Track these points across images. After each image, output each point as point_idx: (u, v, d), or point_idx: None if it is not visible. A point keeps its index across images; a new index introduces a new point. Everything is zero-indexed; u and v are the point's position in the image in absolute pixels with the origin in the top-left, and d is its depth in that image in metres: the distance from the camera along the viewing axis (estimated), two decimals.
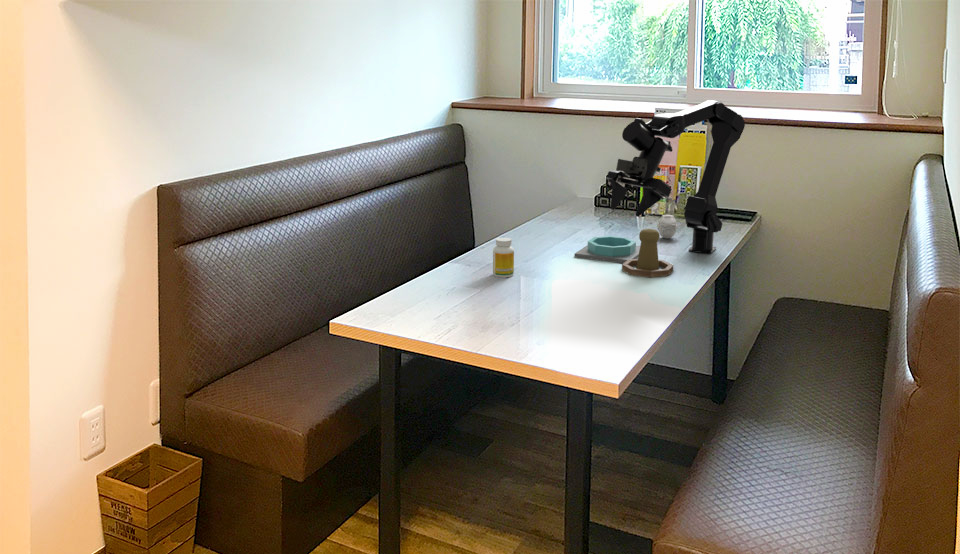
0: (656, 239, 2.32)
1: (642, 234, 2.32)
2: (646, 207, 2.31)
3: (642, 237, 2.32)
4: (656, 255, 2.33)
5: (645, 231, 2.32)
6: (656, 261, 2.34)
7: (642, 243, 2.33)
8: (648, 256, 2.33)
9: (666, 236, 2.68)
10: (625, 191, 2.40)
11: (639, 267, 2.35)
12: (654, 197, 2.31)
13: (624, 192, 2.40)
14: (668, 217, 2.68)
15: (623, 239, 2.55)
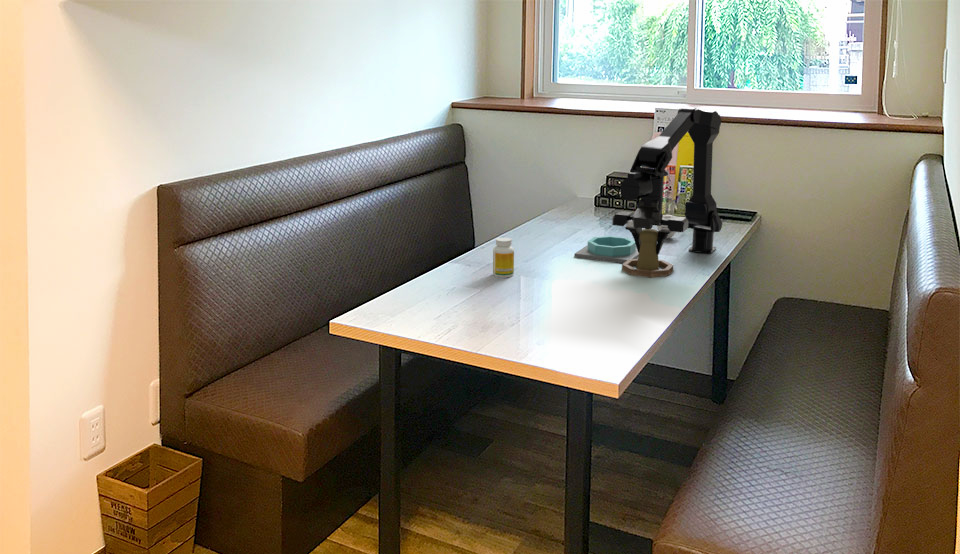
0: (656, 239, 2.32)
1: (642, 234, 2.32)
2: (662, 242, 2.33)
3: (642, 237, 2.32)
4: (656, 255, 2.33)
5: (645, 231, 2.32)
6: (656, 261, 2.34)
7: (642, 243, 2.33)
8: (648, 256, 2.33)
9: None
10: (641, 227, 2.36)
11: (639, 267, 2.35)
12: None
13: (641, 229, 2.36)
14: (668, 217, 2.68)
15: (623, 239, 2.55)
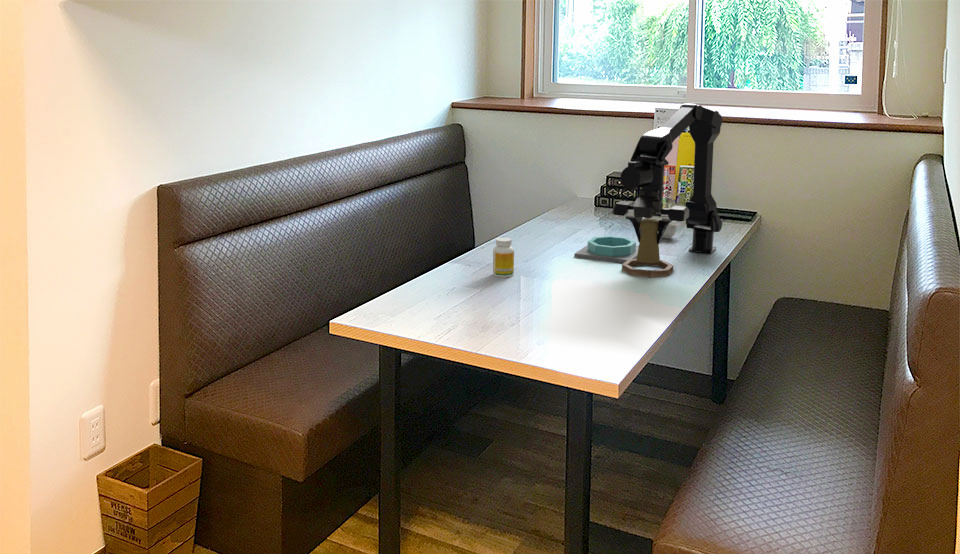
0: (657, 228, 2.31)
1: (643, 223, 2.31)
2: (663, 232, 2.33)
3: (643, 227, 2.31)
4: (657, 245, 2.33)
5: (646, 220, 2.31)
6: (657, 251, 2.33)
7: (643, 233, 2.33)
8: (648, 245, 2.32)
9: (666, 236, 2.68)
10: (641, 217, 2.35)
11: (640, 257, 2.34)
12: None
13: (641, 218, 2.35)
14: None
15: (623, 239, 2.55)
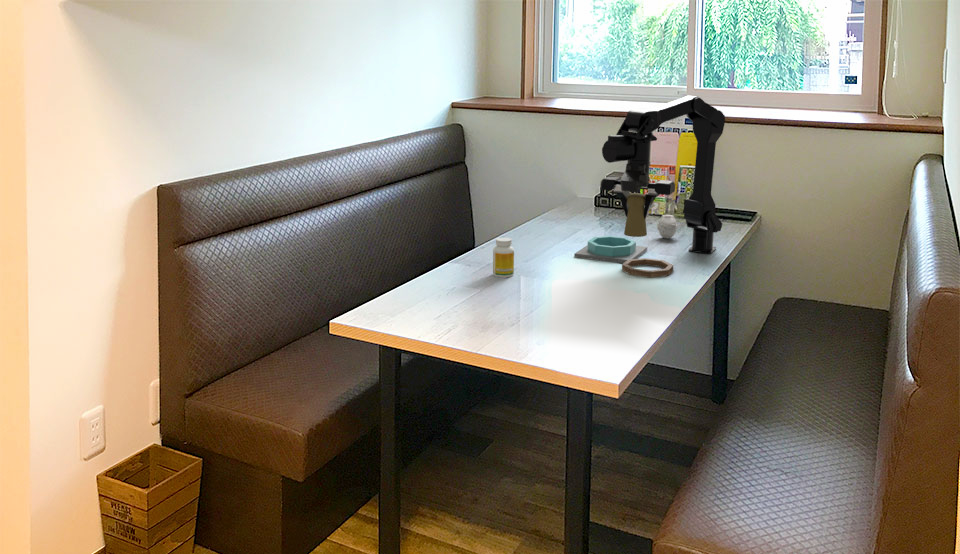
0: (644, 203, 2.35)
1: (630, 198, 2.36)
2: (650, 206, 2.37)
3: (630, 201, 2.36)
4: (644, 219, 2.37)
5: (633, 195, 2.36)
6: (644, 224, 2.37)
7: (630, 207, 2.37)
8: (636, 219, 2.36)
9: (666, 236, 2.68)
10: (628, 192, 2.40)
11: (627, 231, 2.38)
12: None
13: (628, 193, 2.40)
14: (668, 217, 2.68)
15: (623, 239, 2.55)
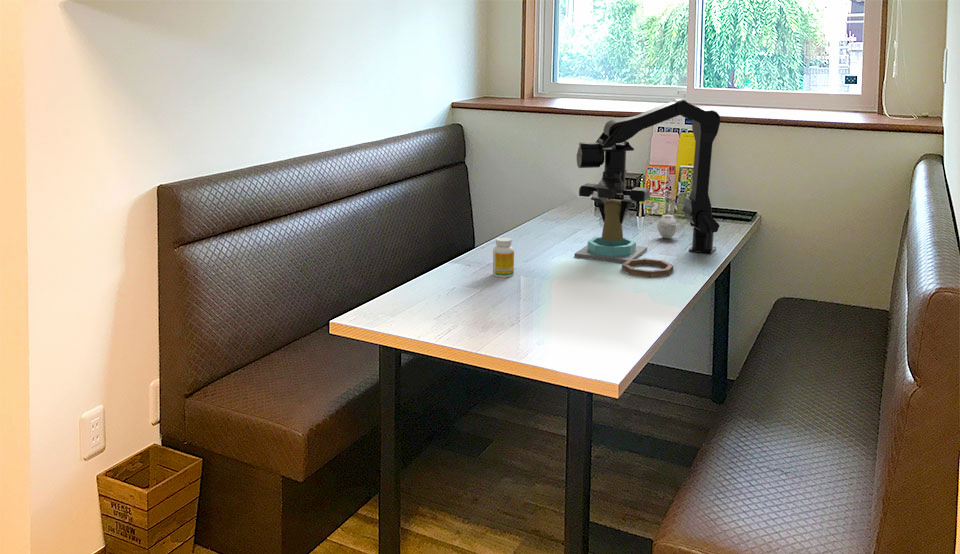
0: (620, 209, 2.47)
1: (606, 204, 2.47)
2: (626, 212, 2.49)
3: (606, 207, 2.47)
4: (620, 224, 2.49)
5: (609, 201, 2.47)
6: (620, 229, 2.49)
7: (607, 213, 2.48)
8: (612, 224, 2.48)
9: (666, 236, 2.68)
10: (606, 198, 2.51)
11: (604, 235, 2.50)
12: None
13: (606, 200, 2.51)
14: (668, 217, 2.68)
15: (623, 239, 2.55)
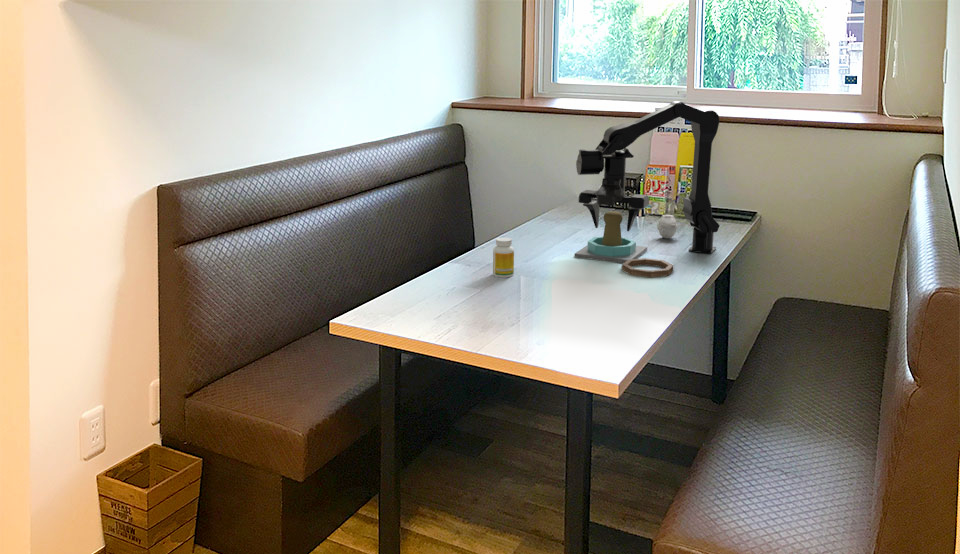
0: (619, 221, 2.48)
1: (606, 216, 2.48)
2: (633, 219, 2.48)
3: (606, 219, 2.48)
4: (619, 236, 2.49)
5: (609, 213, 2.48)
6: (619, 241, 2.50)
7: (606, 224, 2.49)
8: (611, 236, 2.49)
9: (666, 236, 2.68)
10: (598, 204, 2.53)
11: None
12: None
13: (598, 206, 2.53)
14: (668, 217, 2.68)
15: (623, 239, 2.55)
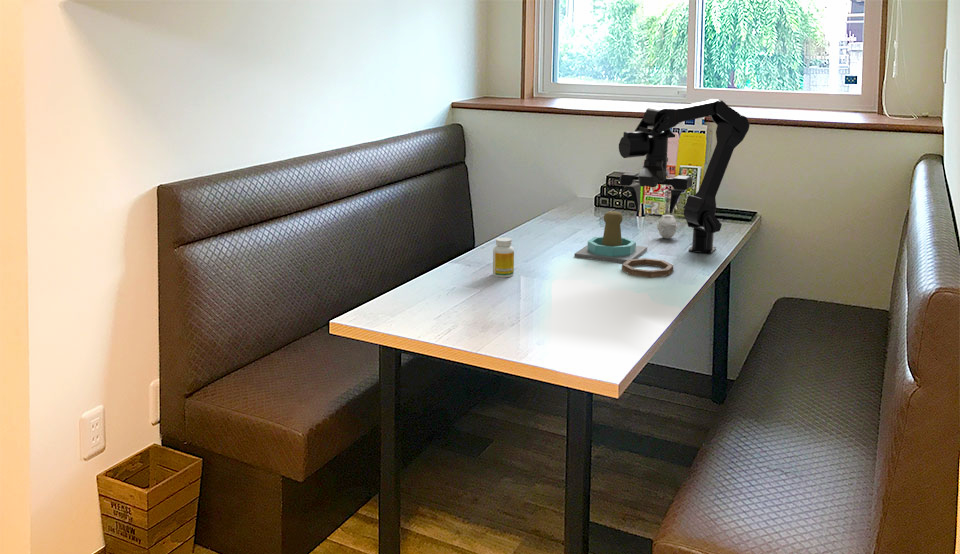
0: (619, 220, 2.48)
1: (606, 216, 2.48)
2: (675, 201, 2.43)
3: (606, 219, 2.48)
4: (619, 236, 2.49)
5: (609, 213, 2.48)
6: (619, 241, 2.50)
7: (606, 224, 2.49)
8: (611, 236, 2.49)
9: (666, 236, 2.68)
10: (639, 186, 2.48)
11: None
12: None
13: (639, 188, 2.48)
14: (668, 217, 2.68)
15: (623, 239, 2.55)
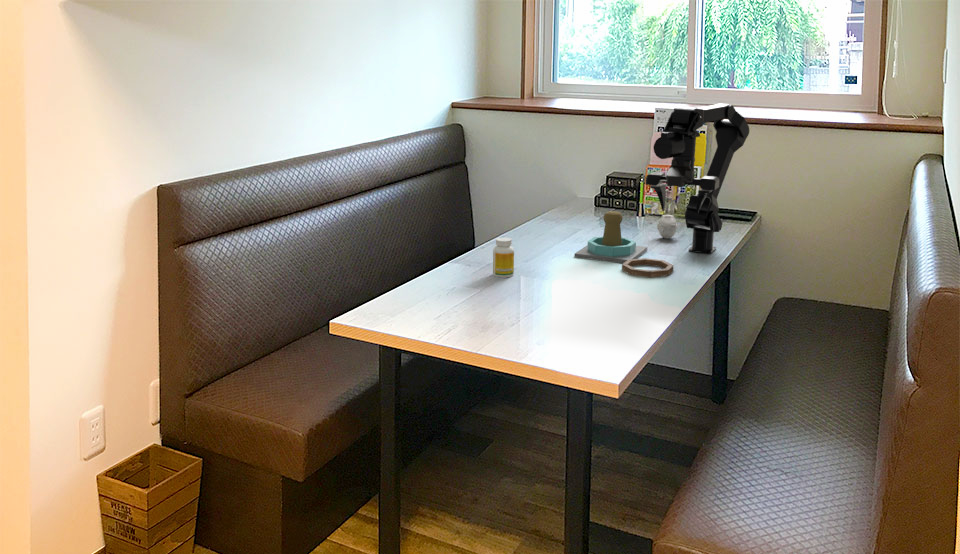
0: (619, 220, 2.48)
1: (606, 216, 2.48)
2: (702, 202, 2.41)
3: (606, 219, 2.48)
4: (619, 236, 2.49)
5: (609, 213, 2.48)
6: (619, 241, 2.50)
7: (606, 224, 2.49)
8: (611, 236, 2.49)
9: (666, 236, 2.68)
10: (665, 186, 2.46)
11: None
12: None
13: (665, 188, 2.46)
14: (668, 217, 2.68)
15: (623, 239, 2.55)
